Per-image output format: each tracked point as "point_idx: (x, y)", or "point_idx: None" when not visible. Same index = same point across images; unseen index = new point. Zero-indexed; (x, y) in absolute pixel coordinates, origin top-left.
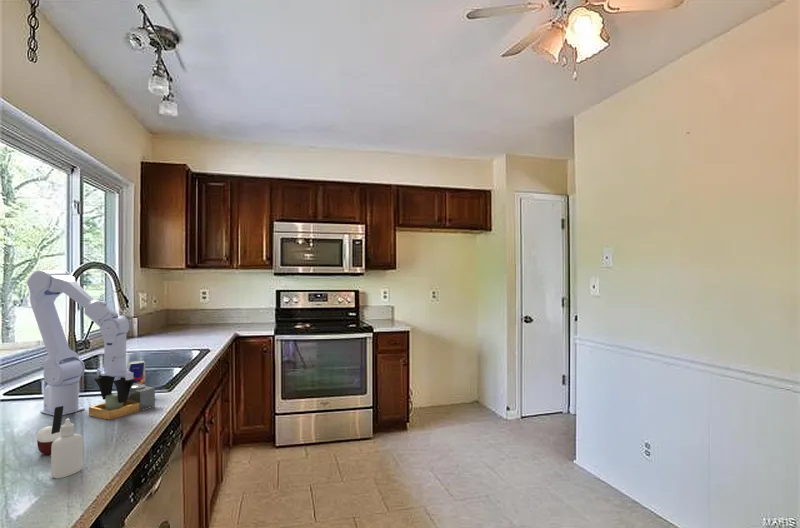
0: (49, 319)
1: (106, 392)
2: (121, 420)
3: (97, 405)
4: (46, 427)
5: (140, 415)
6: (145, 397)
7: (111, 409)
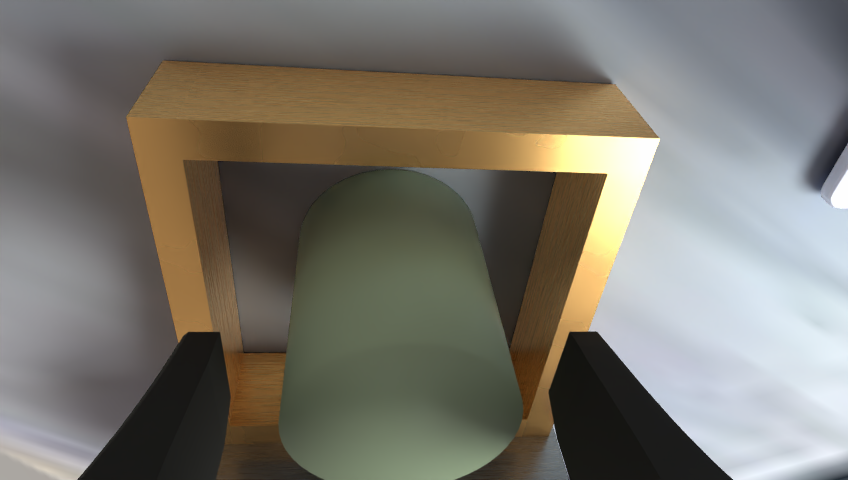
0: None
1: (594, 437)
2: (12, 123)
3: (594, 227)
4: None
5: (43, 305)
6: None
7: (330, 233)
